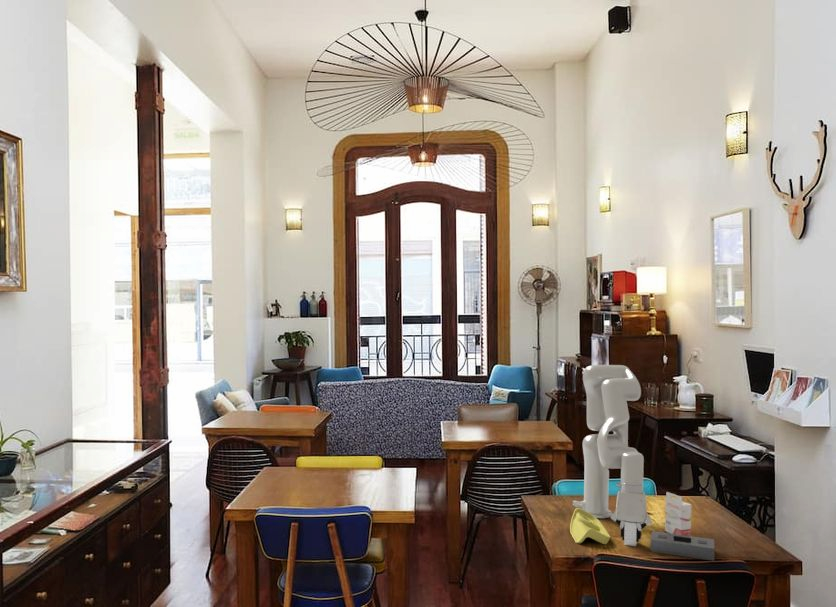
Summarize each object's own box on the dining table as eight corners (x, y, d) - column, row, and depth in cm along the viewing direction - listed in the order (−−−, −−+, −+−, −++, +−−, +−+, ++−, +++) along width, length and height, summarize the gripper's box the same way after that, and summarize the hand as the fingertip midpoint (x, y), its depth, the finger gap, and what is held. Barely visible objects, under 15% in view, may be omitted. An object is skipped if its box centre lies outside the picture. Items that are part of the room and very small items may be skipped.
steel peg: (624, 544, 245) (624, 521, 245) (625, 541, 249) (625, 518, 249) (636, 546, 243) (636, 523, 243) (637, 542, 247) (637, 520, 247)
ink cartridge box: (691, 536, 255) (692, 496, 255) (681, 538, 253) (682, 497, 253) (674, 529, 263) (675, 490, 263) (664, 530, 261) (665, 491, 261)
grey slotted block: (650, 551, 239) (650, 539, 239) (652, 542, 248) (652, 530, 248) (714, 560, 231) (714, 548, 231) (713, 550, 241) (714, 539, 241)
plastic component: (612, 539, 244) (587, 526, 244) (602, 557, 245) (577, 544, 244) (597, 517, 264) (573, 505, 263) (588, 534, 264) (564, 522, 264)
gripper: (605, 487, 246) (604, 539, 246) (656, 493, 239) (655, 547, 239) (608, 482, 253) (607, 533, 253) (657, 488, 246) (656, 540, 246)
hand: (630, 539), depth 246 cm, fingers closed on steel peg, 4 cm apart
